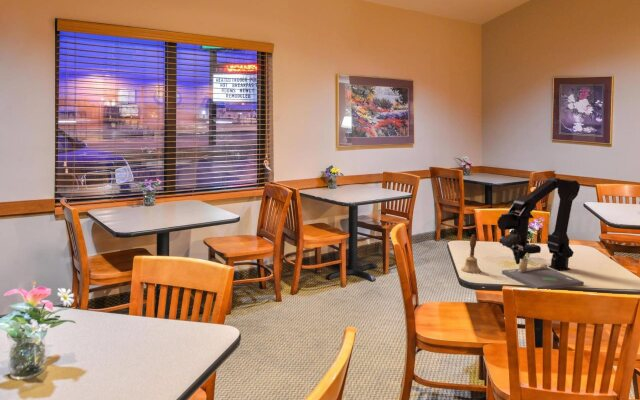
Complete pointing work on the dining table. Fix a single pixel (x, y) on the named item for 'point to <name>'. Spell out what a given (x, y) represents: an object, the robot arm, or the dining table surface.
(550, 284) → the grey flat square slab
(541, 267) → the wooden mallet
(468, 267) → the hand bell
